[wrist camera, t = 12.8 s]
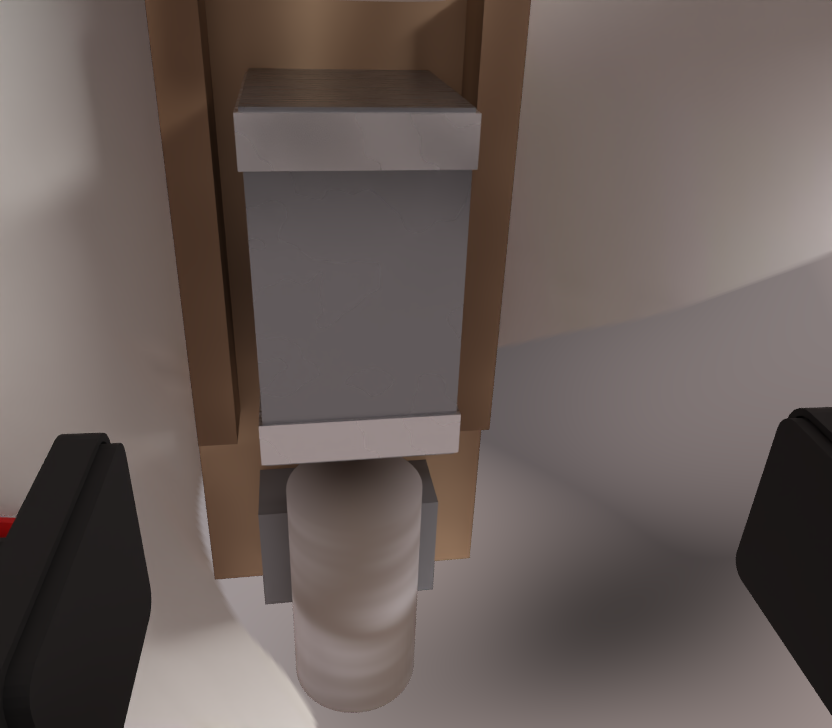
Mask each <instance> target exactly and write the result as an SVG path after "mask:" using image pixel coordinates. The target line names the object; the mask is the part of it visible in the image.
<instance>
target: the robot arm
mask: <svg viewBox="0 0 832 728" xmlns="http://www.w3.org/2000/svg"><path fill="white" fill-rule="evenodd" d="M736 566H737V571H738V574H739V576H740V578H741V580H742V582H743V583H744V585H745V586H746V588H747V589H748V590H749V592H750V594H751V595H752V597H753V598H754V600H755V601H756V603H757V604H758V605H759V607H760V609H761V610H762V612H763V613H764V615H765V616H766V618H767V619H768V621H769V622H770V624H771V625H772V627H773V628H774V630H775V631H776V632H777V634H778V636H779V637H780V639H781V640H782V642H783V643H784V644H785V646H786V647H787V649H788V651H789V652H790V653H791V655H792V656H793V658H794V660H795V661H796V663H797V664H798V666H799V667H800V668H801V670H802V672H803V673H804V675H805V676H806V677H807V679H808V681H809V682H810V684H811V685H812V687H813V688H814V689H815V691H816V693H817V694H818V696H819V697H820V698H821V700H822V702H823V703H824V705H825V706H826V707H827V709H828V710H829V712H830V714H831V715H832V407H822V408H799V409H796V410H794V411H793V412H792V413H791V414H790V415H789V417H788V418H787V419H784V420H783V421H781V422H780V424H779V426H778V428H777V431H776V434H775V437H774V440H773V443H772V446H771V450H770V453H769V456H768V459H767V462H766V465H765V468H764V471H763V474H762V477H761V480H760V483H759V486H758V489H757V493H756V495H755V498H754V502H753V504H752V508H751V511H750V514H749V517H748V520H747V523H746V526H745V529H744V532H743V535H742V538H741V541H740V544H739V547H738V550H737V554H736ZM150 611H151V589H150V583H149V577H148V572H147V567H146V561H145V556H144V550H143V545H142V539H141V534H140V528H139V523H138V518H137V512H136V507H135V501H134V496H133V490H132V485H131V479H130V474H129V469H128V463H127V458H126V452H125V448H124V446H123V444H121V443H110V440H109V438H108V436H107V434H105V433H83V434H61V435H59V436H58V437H57V438H56V440H55V441H54V443H53V445H52V447H51V449H50V451H49V453H48V455H47V457H46V459H45V461H44V463H43V465H42V467H41V469H40V471H39V473H38V475H37V477H36V479H35V481H34V483H33V485H32V487H31V489H30V491H29V493H28V495H27V496H26V498H25V500H24V502H23V504H22V506H21V508H20V510H19V512H18V514H17V516H16V518H15V520H14V522H13V524H12V526H11V528H10V530H9V532H8V534H7V536H6V537H4V538H0V728H124V723H125V719H126V715H127V711H128V706H129V702H130V698H131V694H132V689H133V685H134V681H135V677H136V673H137V668H138V664H139V660H140V656H141V651H142V647H143V643H144V639H145V634H146V630H147V626H148V622H149V617H150Z"/></svg>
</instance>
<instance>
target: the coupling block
mask: <svg viewBox="0 0 832 728" xmlns="http://www.w3.org/2000/svg"><path fill="white" fill-rule="evenodd" d="M481 115H482V113H480V112H479V111H478V110H477V109H476V107H475V106H473V105H472V104H471V103H470V102H468V101H467V100H466V99H465V98H463V97H462V96H461V95H459V94H458V93H457V92H456V91H454V90H453V89H452V88H451V87H449V86H448V85H447V84H446V83H444V82H443V81H442V80H440V79H439V78H438V77H437V76H435V75H434V74H433V73H432V72H430V71H429V70H367V69H282V68H249V69H248V72H245V74H244V78H243V81H242V84H241V88H240V91H239V95H238V98H237V101H236V105H235V108H234V112H233V117H234V130H235V142H236V155H237V167H238V172H243V178H244V191H245V204H246V216H247V229H248V242H249V255H250V268H251V281H252V294H253V306H254V319H255V332H256V345H257V358H258V371H259V384H260V405H259V439H260V451H261V463H262V465H266V466H275V465H290V464H305V463H320V462H335V461H350V460H365V459H380V458H395V457H410V456H425V455H440V454H454V453H457V452H458V449H459V435H460V420H461V414H460V411H459V409H458V406H457V395H458V380H459V365H460V350H461V334H462V319H463V304H464V288H465V273H466V258H467V243H468V227H469V212H470V197H471V182H472V170H478V159H479V144H480V130H481Z"/></svg>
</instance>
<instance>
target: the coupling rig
mask: <svg viewBox="0 0 832 728" xmlns="http://www.w3.org/2000/svg"><path fill="white" fill-rule="evenodd" d="M530 5H531V0H145V6H146V15H147V23H148V31H149V40H150V48H151V56H152V64H153V73H154V81H155V89H156V98H157V106H158V114H159V122H160V131H161V139H162V147H163V156H164V164H165V172H166V180H167V189H168V197H169V205H170V214H171V222H172V230H173V239H174V247H175V255H176V263H177V272H178V280H179V288H180V297H181V305H182V313H183V321H184V330H185V338H186V346H187V355H188V363H189V371H190V379H191V388H192V396H193V404H194V413H195V421H196V429H197V437H198V446H199V451H200V459H201V468H202V476H203V484H204V493H205V501H206V509H207V517H208V526H209V534H210V542H211V551H212V559H213V567H214V576H215V579H226V578H238V577H250V576H262V575H263V581H264V593H265V604H274V603H285V602H293V618H294V637H295V655H296V670H297V676H298V680H299V682H300V684H301V686H302V688H303V689H304V691H305V692H306V693H307V694H308V695H309V697H311V698H312V699H313V700H314V701H315V702H317V703H319V704H320V705H322V706H324V707H326V708H329V709H332V710H335V711H340V712H348V713H349V712H350V713H357V712H365V711H370V710H374V709H377V708H379V707H382V706H384V705H386V704H387V703H389V702H391V701H392V700H394V699H395V698H396V697H397V696H398V695H399V694H400V693H401V692H402V691H403V690H404V689H405V687H406V686H407V684H408V682H409V681H410V678H411V676H412V672H413V667H414V647H415V627H416V626H415V625H416V606H417V591H419V590H429V589H433V577H434V562H435V561H440V560H452V559H463V558H470V547H471V536H472V525H473V514H474V503H475V492H476V480H477V470H478V459H479V447H480V437H481V430H489V427H490V417H491V406H492V397H493V396H492V395H493V386H494V376H495V365H496V355H497V345H498V335H499V324H500V314H501V304H502V293H503V283H504V273H505V263H506V252H507V242H508V232H509V221H510V211H511V201H512V190H513V180H514V170H515V159H516V149H517V139H518V128H519V118H520V108H521V98H522V87H523V77H524V67H525V56H526V46H527V36H528V25H529V15H530ZM249 68H282V69H367V70H429V71H430V72H432V73H433V74H434V75H435V76H437V77H438V78H439V79H440V80H442V81H443V82H444V83H446V84H447V85H448V86H449V87H451V88H452V89H453V90H454V91H456V92H457V93H458V94H459V95H461V96H462V97H463V98H465V99H466V100H467V101H468V102H470V103H471V104H472V105H473V106H475V107H476V109H477V110H478V111H479V112H480V113H482V115H481V130H480V144H479V159H478V170H472V182H471V197H470V212H469V227H468V243H467V258H466V273H465V288H464V304H463V319H462V334H461V350H460V365H459V380H458V395H457V406H458V409H459V411H460V414H461V420H460V435H459V449H458V452H457V453H454V454H440V455H425V456H410V457H395V458H380V459H365V460H350V461H335V462H320V463H305V464H290V465H275V466H266V465H262V463H261V451H260V439H259V405H260V384H259V371H258V358H257V345H256V332H255V319H254V306H253V294H252V281H251V268H250V255H249V242H248V229H247V216H246V204H245V191H244V178H243V172H238V167H237V155H236V142H235V130H234V117H233V112H234V108H235V105H236V101H237V98H238V95H239V91H240V88H241V84H242V81H243V78H244V74H245V72H248V69H249Z"/></svg>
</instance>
